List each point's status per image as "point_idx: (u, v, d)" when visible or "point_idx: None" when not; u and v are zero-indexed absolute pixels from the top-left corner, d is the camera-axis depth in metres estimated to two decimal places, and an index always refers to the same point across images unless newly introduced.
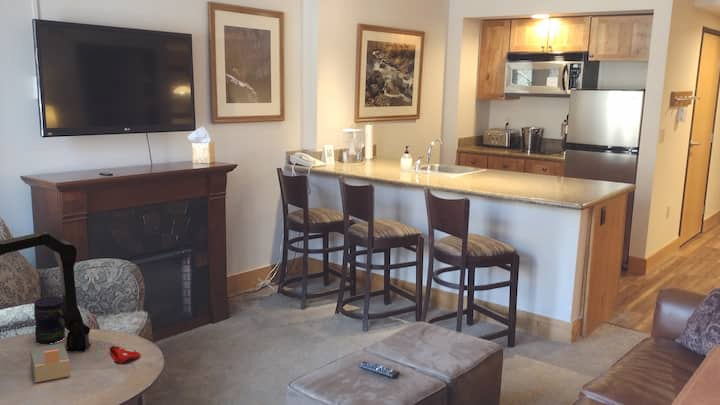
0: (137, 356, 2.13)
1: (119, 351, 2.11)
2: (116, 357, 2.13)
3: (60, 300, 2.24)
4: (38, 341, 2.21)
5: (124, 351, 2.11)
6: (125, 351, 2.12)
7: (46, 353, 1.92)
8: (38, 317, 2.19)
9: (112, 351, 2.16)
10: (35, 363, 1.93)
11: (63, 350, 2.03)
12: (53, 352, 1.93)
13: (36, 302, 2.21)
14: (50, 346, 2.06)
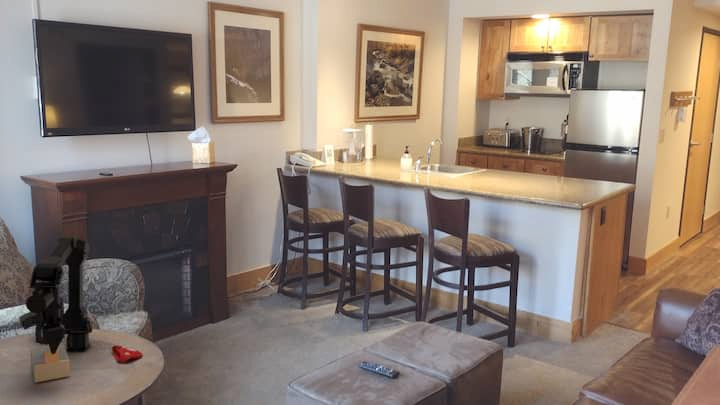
0: (139, 355, 2.13)
1: (121, 350, 2.12)
2: (118, 356, 2.13)
3: (60, 300, 2.24)
4: (38, 341, 2.21)
5: (126, 350, 2.12)
6: (127, 350, 2.12)
7: (46, 353, 1.92)
8: None
9: (114, 350, 2.16)
10: (35, 363, 1.93)
11: (63, 350, 2.03)
12: None
13: None
14: None
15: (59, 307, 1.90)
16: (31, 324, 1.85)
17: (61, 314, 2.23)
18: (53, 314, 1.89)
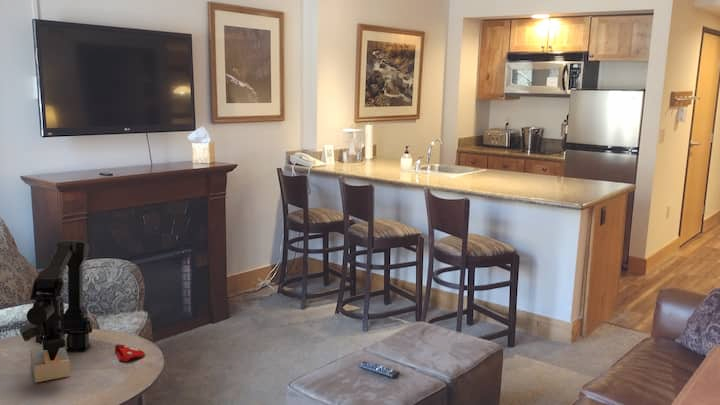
0: (141, 355, 2.14)
1: (124, 350, 2.13)
2: (121, 356, 2.14)
3: (60, 300, 2.24)
4: (38, 341, 2.21)
5: (129, 350, 2.13)
6: (130, 350, 2.13)
7: (46, 353, 1.92)
8: None
9: (117, 349, 2.17)
10: (35, 363, 1.93)
11: (63, 350, 2.03)
12: None
13: None
14: None
15: (60, 318, 1.91)
16: (32, 336, 1.86)
17: (61, 314, 2.23)
18: (54, 325, 1.90)
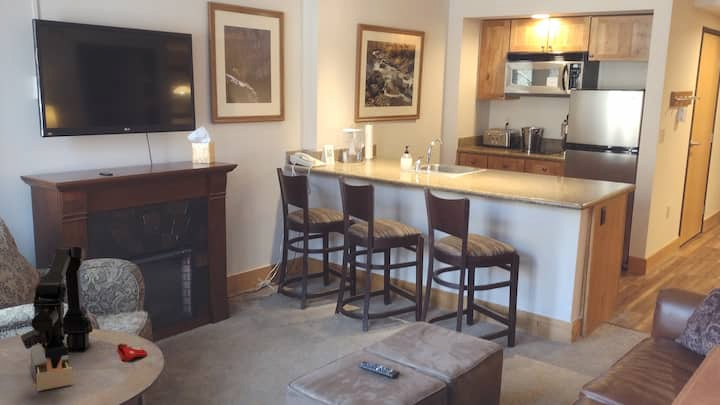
0: (144, 354, 2.14)
1: (126, 349, 2.13)
2: (123, 355, 2.15)
3: None
4: None
5: (131, 349, 2.13)
6: (132, 349, 2.13)
7: (48, 361, 1.87)
8: None
9: (120, 349, 2.18)
10: (35, 363, 1.93)
11: None
12: None
13: None
14: None
15: (62, 325, 1.85)
16: (33, 343, 1.80)
17: None
18: (56, 332, 1.85)
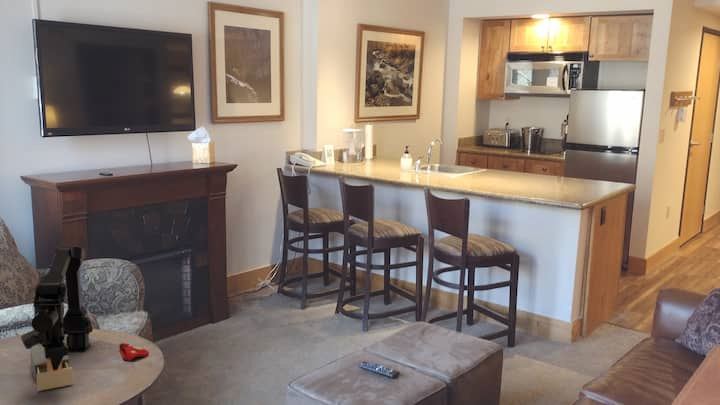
0: (145, 354, 2.15)
1: (128, 348, 2.14)
2: (125, 354, 2.15)
3: None
4: None
5: (132, 349, 2.14)
6: (133, 349, 2.14)
7: (48, 361, 1.87)
8: None
9: (122, 348, 2.18)
10: (35, 363, 1.93)
11: None
12: None
13: None
14: None
15: (62, 326, 1.85)
16: (34, 343, 1.80)
17: None
18: (56, 332, 1.84)
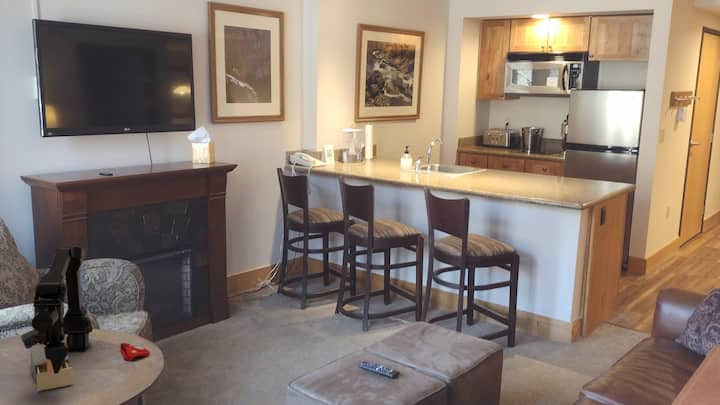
0: (146, 354, 2.15)
1: (128, 348, 2.14)
2: (126, 354, 2.15)
3: None
4: None
5: (133, 348, 2.14)
6: (134, 348, 2.14)
7: (48, 361, 1.87)
8: None
9: (122, 348, 2.19)
10: (35, 363, 1.93)
11: None
12: None
13: None
14: None
15: (62, 325, 1.85)
16: (34, 343, 1.80)
17: None
18: (56, 332, 1.84)
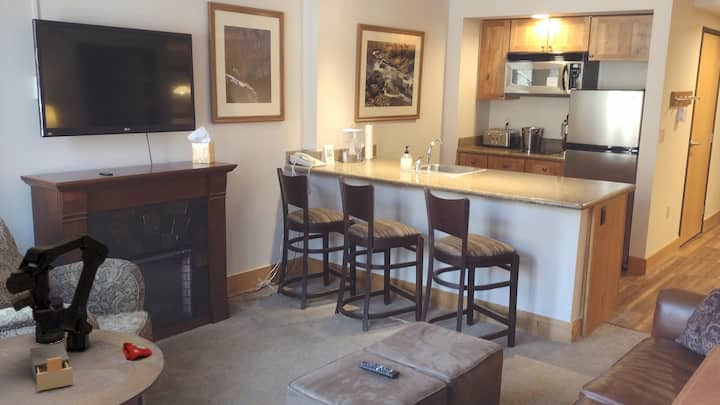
0: (148, 353, 2.15)
1: (131, 348, 2.14)
2: (128, 353, 2.16)
3: (60, 300, 2.24)
4: (38, 341, 2.21)
5: (136, 348, 2.15)
6: (136, 348, 2.15)
7: (48, 361, 1.87)
8: None
9: (125, 347, 2.19)
10: (35, 363, 1.93)
11: (63, 350, 2.03)
12: (56, 360, 1.88)
13: None
14: (50, 346, 2.06)
15: (49, 290, 2.00)
16: (22, 306, 1.94)
17: None
18: (43, 296, 1.99)
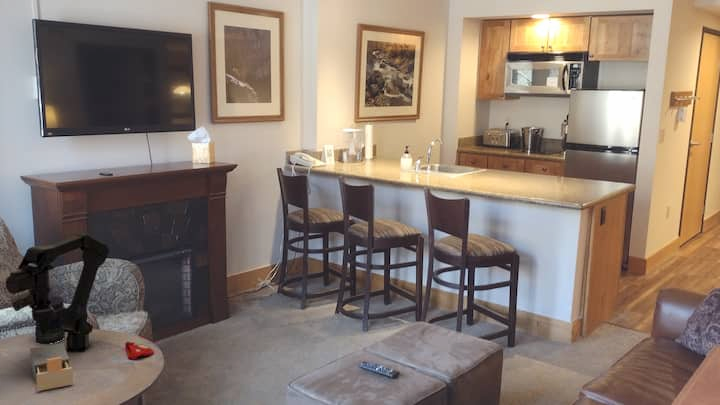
0: (150, 353, 2.16)
1: (133, 347, 2.15)
2: (130, 353, 2.16)
3: (60, 300, 2.24)
4: (38, 341, 2.21)
5: (137, 347, 2.15)
6: (138, 347, 2.15)
7: (48, 361, 1.87)
8: None
9: (127, 347, 2.20)
10: (35, 363, 1.93)
11: (63, 350, 2.03)
12: (56, 360, 1.88)
13: None
14: (50, 346, 2.06)
15: (49, 290, 2.00)
16: (22, 306, 1.95)
17: None
18: (43, 296, 1.99)
